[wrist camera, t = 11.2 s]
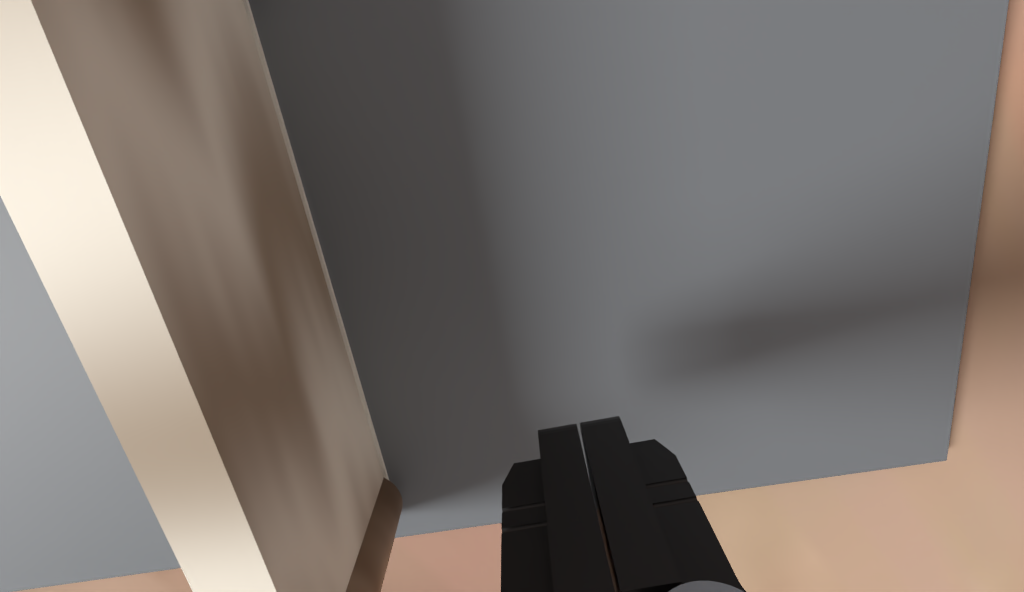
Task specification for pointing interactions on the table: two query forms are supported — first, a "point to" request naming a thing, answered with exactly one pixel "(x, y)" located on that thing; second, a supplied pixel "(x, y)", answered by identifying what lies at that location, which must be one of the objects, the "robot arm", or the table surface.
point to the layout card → (581, 249)
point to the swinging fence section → (193, 286)
